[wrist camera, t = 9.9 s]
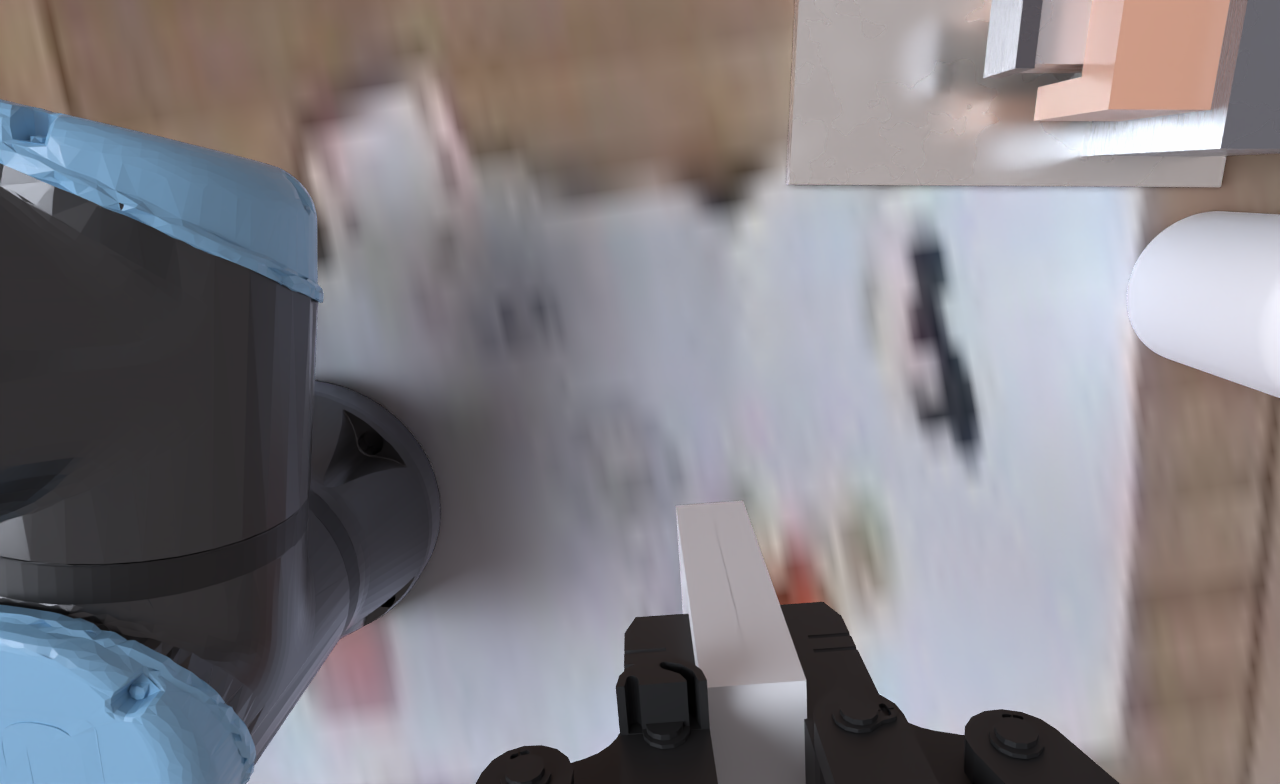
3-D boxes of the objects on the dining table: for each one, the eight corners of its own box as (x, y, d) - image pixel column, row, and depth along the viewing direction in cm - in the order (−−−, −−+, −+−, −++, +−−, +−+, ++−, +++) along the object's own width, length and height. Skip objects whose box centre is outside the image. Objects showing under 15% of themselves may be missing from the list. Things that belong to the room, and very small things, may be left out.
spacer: (1033, 120, 38) (1108, 109, 32) (1054, -43, 36) (1137, -89, 30) (1119, 121, 38) (1210, 109, 32) (1143, -43, 36) (1245, -89, 30)
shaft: (983, 77, 37) (1015, 68, 34) (991, -3, 36) (1025, -21, 33) (1354, 79, 37) (1423, 69, 33) (1372, -2, 36) (1445, -21, 32)
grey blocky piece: (785, 184, 43) (829, 185, 32) (799, -90, 39) (854, -193, 28) (1205, 186, 42) (1394, 189, 31) (1255, -90, 39) (1486, -194, 28)
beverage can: (1153, 194, 42) (1340, 200, 31) (1298, 230, 43) (1537, 249, 31) (1096, 341, 44) (1252, 398, 33) (1234, 374, 45) (1436, 442, 33)
